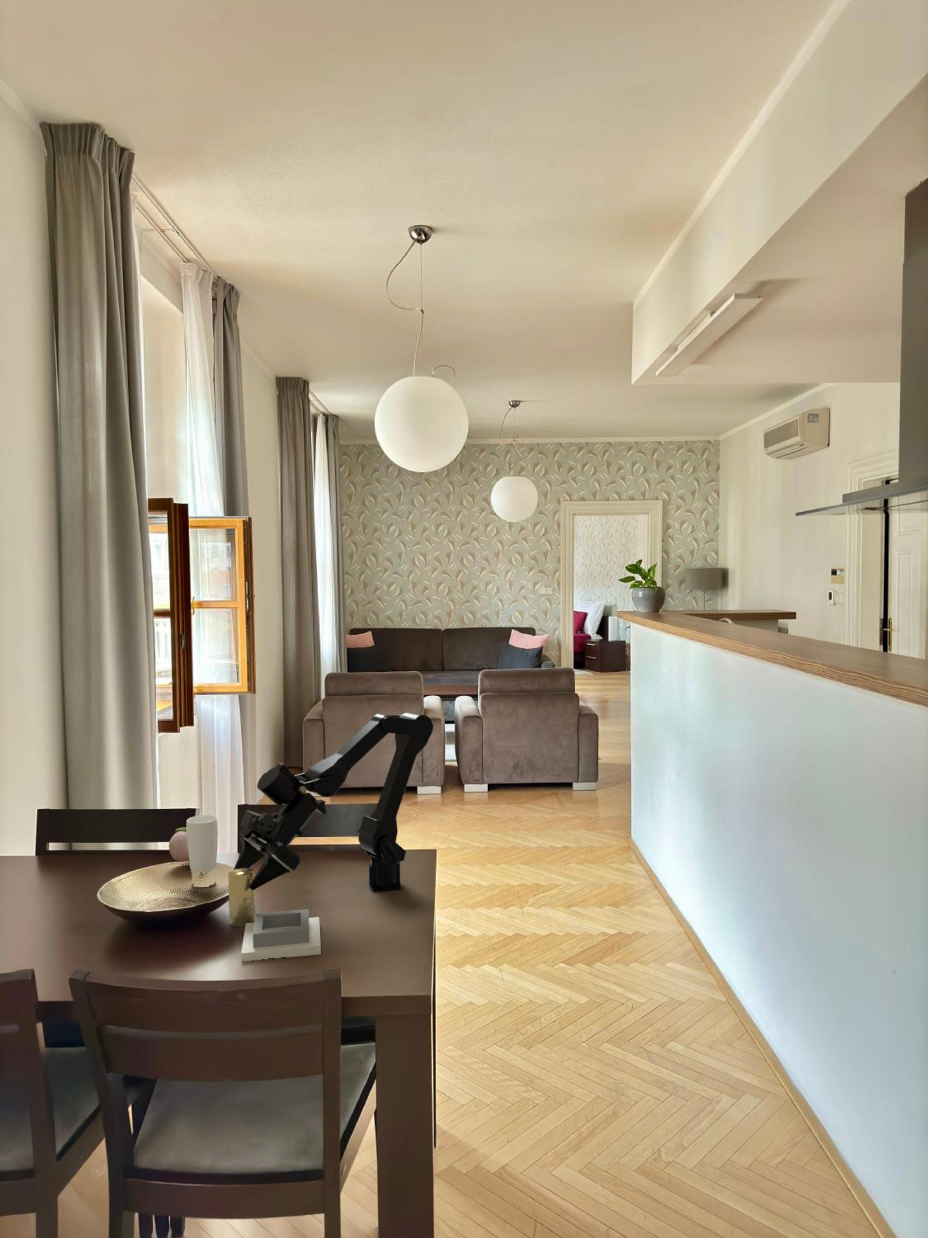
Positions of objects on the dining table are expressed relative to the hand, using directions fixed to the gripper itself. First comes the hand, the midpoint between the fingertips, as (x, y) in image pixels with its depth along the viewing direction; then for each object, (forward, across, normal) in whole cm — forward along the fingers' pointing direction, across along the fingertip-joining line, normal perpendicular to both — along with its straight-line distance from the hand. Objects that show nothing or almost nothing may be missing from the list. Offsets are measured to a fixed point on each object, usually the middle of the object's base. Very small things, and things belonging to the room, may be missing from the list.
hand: (241, 882), depth 172 cm
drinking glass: (+5, -26, +6) cm, 27 cm away
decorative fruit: (+4, -41, +8) cm, 42 cm away
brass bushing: (+6, 0, +6) cm, 8 cm away
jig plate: (+4, +14, +7) cm, 16 cm away
